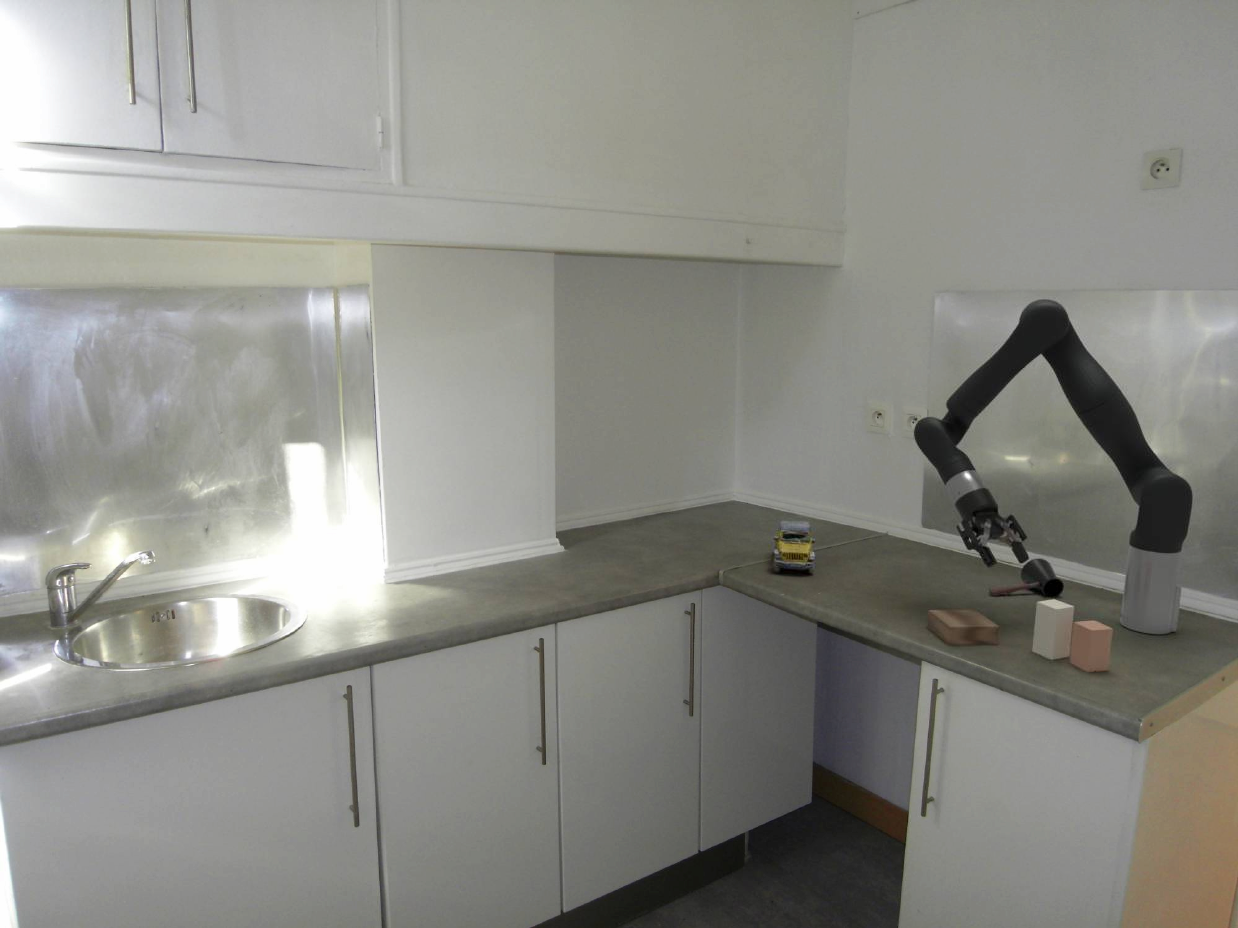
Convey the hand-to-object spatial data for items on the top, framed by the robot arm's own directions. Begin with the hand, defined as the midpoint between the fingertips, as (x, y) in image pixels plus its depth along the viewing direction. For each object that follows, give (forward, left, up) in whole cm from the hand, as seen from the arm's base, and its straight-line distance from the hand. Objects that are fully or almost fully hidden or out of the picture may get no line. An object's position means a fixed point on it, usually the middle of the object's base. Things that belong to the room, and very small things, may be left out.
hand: (1009, 563), depth 173 cm
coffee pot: (-18, -27, -15) cm, 35 cm away
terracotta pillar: (-8, +17, -15) cm, 24 cm away
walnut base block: (+9, +1, -15) cm, 18 cm away
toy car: (+31, -50, -15) cm, 61 cm away
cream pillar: (-4, +11, -15) cm, 19 cm away
